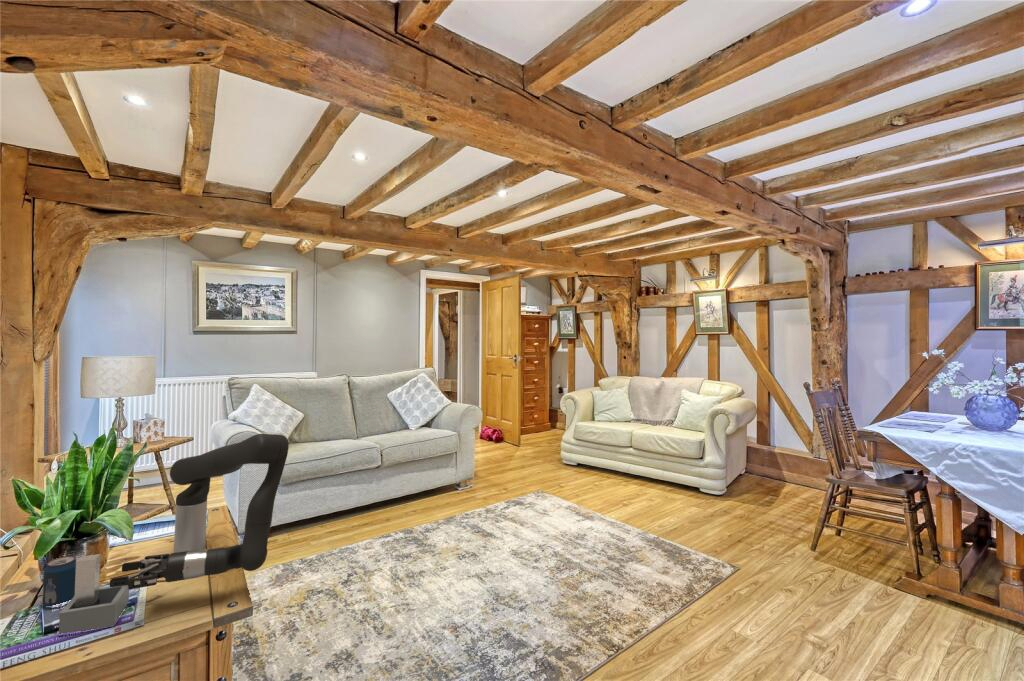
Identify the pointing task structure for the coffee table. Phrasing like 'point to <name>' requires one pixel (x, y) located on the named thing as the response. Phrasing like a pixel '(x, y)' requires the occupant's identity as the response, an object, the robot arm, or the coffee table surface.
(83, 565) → the two-tone gray pillar
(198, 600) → the coffee table surface
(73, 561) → the soda can
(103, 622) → the gray open tray
